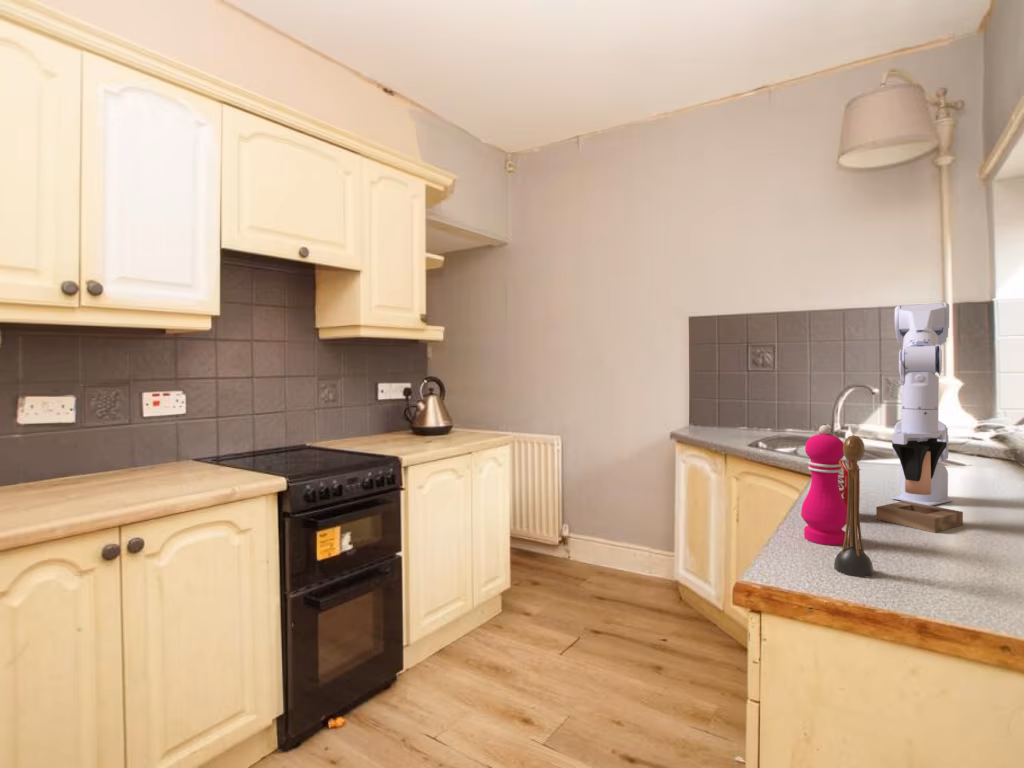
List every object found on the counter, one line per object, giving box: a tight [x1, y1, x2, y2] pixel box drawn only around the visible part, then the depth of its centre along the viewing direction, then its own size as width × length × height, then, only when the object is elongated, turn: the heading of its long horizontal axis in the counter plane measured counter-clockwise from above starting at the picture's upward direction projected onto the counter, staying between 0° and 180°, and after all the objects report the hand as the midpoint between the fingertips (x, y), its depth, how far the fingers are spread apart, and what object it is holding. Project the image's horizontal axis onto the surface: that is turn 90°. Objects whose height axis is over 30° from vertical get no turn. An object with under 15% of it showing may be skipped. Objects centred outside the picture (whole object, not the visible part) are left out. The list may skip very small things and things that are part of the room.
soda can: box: [838, 456, 861, 508], centre depth 110 cm, size 7×7×12 cm
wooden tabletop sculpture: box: [833, 435, 874, 578], centre depth 81 cm, size 6×5×20 cm
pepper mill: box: [800, 424, 847, 546], centre depth 95 cm, size 7×7×20 cm
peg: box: [905, 451, 931, 495], centre depth 105 cm, size 4×4×8 cm
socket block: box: [875, 501, 964, 533], centre depth 105 cm, size 10×10×2 cm
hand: (919, 479), depth 105 cm, fingers closed on peg, 4 cm apart
